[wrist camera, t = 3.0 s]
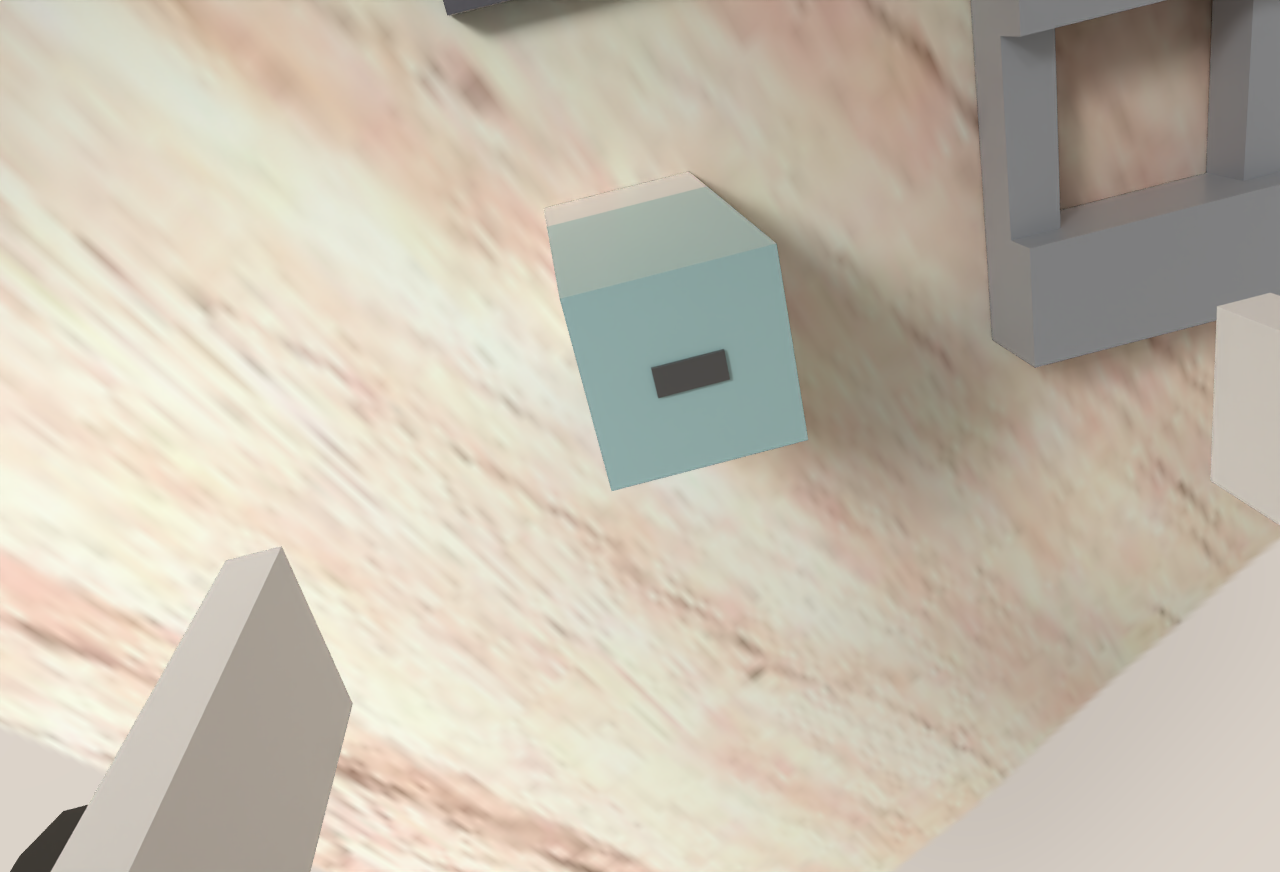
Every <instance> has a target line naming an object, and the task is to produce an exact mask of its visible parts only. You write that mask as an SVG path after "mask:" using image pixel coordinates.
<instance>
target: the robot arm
mask: <svg viewBox="0 0 1280 872" xmlns="http://www.w3.org/2000/svg"><path fill="white" fill-rule="evenodd" d="M1211 481H1212V482H1213V483H1215V484H1216V485H1218V486H1219V487H1221V488H1223V489H1224V490H1226V491H1227V492H1229V493H1230V494H1232V495H1233V496H1235V497H1236V498H1238V499H1240V500H1241V501H1243V502H1244V503H1246V504H1247V505H1249V506H1250V507H1252V508H1254V509H1255V510H1257V511H1258V512H1260V513H1261V514H1263V515H1264V516H1266V517H1268V518H1269V519H1271V520H1272V521H1274V522H1275V523H1277V524H1278V525H1280V296H1279V295H1276V294H1273V293H1267V294H1263V295H1259V296H1255V297H1251V298H1248V299H1244V300H1240V301H1236V302H1232V303H1228V304H1224V305H1220V306H1217V320H1216V347H1215V374H1214V401H1213V428H1212V455H1211ZM352 704H353V703H352V701H351V699H350V697H349V695H348V692H347V690H346V688H345V686H344V684H343V681H342V679H341V677H340V675H339V672H338V670H337V668H336V666H335V664H334V661H333V659H332V657H331V655H330V652H329V650H328V648H327V646H326V644H325V641H324V639H323V637H322V635H321V633H320V630H319V628H318V626H317V624H316V621H315V619H314V617H313V615H312V613H311V610H310V608H309V606H308V604H307V601H306V599H305V597H304V595H303V593H302V590H301V588H300V586H299V584H298V582H297V579H296V577H295V575H294V573H293V570H292V568H291V566H290V564H289V562H288V559H287V557H286V555H285V553H284V550H283V548H282V546H281V547H277V548H273V549H269V550H265V551H261V552H257V553H253V554H249V555H246V556H242V557H238V558H234V559H230V560H226V561H225V563H224V565H223V567H222V568H221V570H220V572H219V574H218V576H217V577H216V579H215V581H214V583H213V584H212V586H211V588H210V590H209V592H208V593H207V595H206V597H205V599H204V600H203V602H202V604H201V606H200V607H199V609H198V611H197V613H196V615H195V616H194V618H193V620H192V622H191V623H190V625H189V627H188V629H187V631H186V632H185V634H184V636H183V638H182V639H181V641H180V643H179V645H178V647H177V648H176V650H175V652H174V654H173V655H172V657H171V659H170V661H169V663H168V664H167V666H166V668H165V670H164V671H163V673H162V675H161V677H160V679H159V680H158V682H157V684H156V686H155V687H154V689H153V691H152V693H151V695H150V696H149V698H148V700H147V702H146V703H145V705H144V707H143V709H142V711H141V712H140V714H139V716H138V718H137V719H136V721H135V723H134V725H133V726H132V728H131V730H130V732H129V734H128V735H127V737H126V739H125V741H124V742H123V744H122V746H121V748H120V750H119V751H118V753H117V755H116V757H115V758H114V760H113V762H112V764H111V766H110V767H109V769H108V771H107V773H106V774H105V776H104V778H103V780H102V782H101V784H100V785H99V787H98V789H97V790H96V792H95V794H94V796H93V798H92V800H91V801H90V803H89V805H85V806H82V807H78V808H74V809H70V810H66V811H63V812H62V813H61V814H60V815H59V816H58V817H57V818H56V819H55V820H54V821H53V823H51V824H50V825H49V826H48V827H47V829H46V830H45V831H44V832H43V833H42V834H41V835H40V836H39V837H38V838H37V839H36V840H35V841H34V842H33V843H32V844H31V845H30V846H29V847H28V848H27V849H26V850H25V851H24V852H23V853H22V854H21V855H20V856H19V858H18V860H17V861H16V863H15V864H14V866H13V868H12V870H11V871H10V872H310V871H311V867H312V863H313V859H314V855H315V851H316V847H317V843H318V839H319V835H320V831H321V827H322V823H323V819H324V815H325V811H326V807H327V803H328V799H329V795H330V791H331V787H332V783H333V779H334V775H335V772H336V768H337V764H338V760H339V756H340V752H341V748H342V744H343V740H344V736H345V732H346V728H347V724H348V720H349V716H350V712H351V708H352Z"/></svg>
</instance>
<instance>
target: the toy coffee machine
mask: <svg viewBox="0 0 1280 872" xmlns="http://www.w3.org/2000/svg"><path fill="white" fill-rule="evenodd" d="M1161 1H1165V0H971V13H972V28H973V44H974V60H975V76H976V91H977V107H978V123H979V139H980V154H981V170H982V186H983V202H984V217H985V233H986V249H987V264H988V280H989V296H990V312H991V327H992V340H993V341H995V342H996V343H998V344H999V345H1001V346H1002V347H1004V348H1006V349H1007V350H1009V351H1010V352H1012V353H1013V354H1015V355H1016V356H1018V357H1019V358H1021V359H1022V360H1024V361H1025V362H1027V363H1029V364H1030V365H1032V366H1033V367H1035V368H1036V367H1039V366H1043V365H1047V364H1051V363H1055V362H1059V361H1063V360H1066V359H1070V358H1074V357H1078V356H1082V355H1086V354H1089V353H1093V352H1097V351H1101V350H1105V349H1109V348H1112V347H1116V346H1120V345H1124V344H1128V343H1132V342H1136V341H1139V340H1143V339H1147V338H1151V337H1155V336H1159V335H1162V334H1166V333H1170V332H1174V331H1178V330H1182V329H1186V328H1189V327H1193V326H1197V325H1201V324H1205V323H1209V322H1212V321H1216V320H1217V306H1220V305H1224V304H1228V303H1232V302H1236V301H1240V300H1244V299H1248V298H1251V297H1255V296H1259V295H1263V294H1267V293H1273V294H1276V295H1279V296H1280V0H1213V4H1212V30H1211V57H1210V83H1209V109H1208V136H1207V162H1206V173H1204V174H1200V175H1196V176H1192V177H1188V178H1185V179H1181V180H1177V181H1173V182H1169V183H1165V184H1161V185H1157V186H1153V187H1149V188H1145V189H1142V190H1138V191H1134V192H1130V193H1126V194H1122V195H1118V196H1114V197H1110V198H1106V199H1103V200H1099V201H1095V202H1091V203H1087V204H1083V205H1079V206H1075V207H1071V208H1067V209H1063V210H1060V190H1059V155H1058V120H1057V85H1056V50H1055V28H1057V27H1061V26H1065V25H1069V24H1073V23H1077V22H1081V21H1085V20H1089V19H1093V18H1097V17H1101V16H1105V15H1109V14H1113V13H1117V12H1121V11H1125V10H1129V9H1133V8H1137V7H1141V6H1145V5H1149V4H1153V3H1157V2H1161Z"/></svg>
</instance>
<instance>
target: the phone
mask: <svg viewBox="0 0 1280 872" xmlns="http://www.w3.org/2000/svg"><path fill="white" fill-rule="evenodd" d="M508 1H512V0H443V2H444V5H445V9H446V12H447V15H448V16H451V15H455V14H459V13H463V12H467V11H471V10H475V9H479V8H483V7H487V6H491V5H495V4H499V3H504V2H508Z"/></svg>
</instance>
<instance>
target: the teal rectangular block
mask: <svg viewBox="0 0 1280 872" xmlns="http://www.w3.org/2000/svg"><path fill="white" fill-rule="evenodd" d="M544 213H545V219H546V224H547V230H548V236H549V241H550V247H551V252H552V258H553V263H554V269H555V275H556V280H557V286H558V291H559V297H560V301H561V305H562V309H563V312H564V316H565V320H566V323H567V327H568V331H569V335H570V338H571V342H572V346H573V349H574V353H575V357H576V361H577V364H578V368H579V372H580V375H581V379H582V383H583V387H584V390H585V394H586V398H587V401H588V405H589V409H590V412H591V416H592V420H593V424H594V427H595V431H596V435H597V438H598V442H599V446H600V450H601V453H602V457H603V461H604V464H605V468H606V472H607V476H608V479H609V483H610V487H611V490H612V491H614V490H618V489H622V488H626V487H629V486H633V485H637V484H641V483H645V482H649V481H652V480H656V479H660V478H664V477H668V476H672V475H675V474H679V473H683V472H687V471H691V470H695V469H699V468H702V467H706V466H710V465H714V464H718V463H722V462H725V461H729V460H733V459H737V458H741V457H745V456H748V455H752V454H756V453H760V452H764V451H768V450H771V449H775V448H779V447H783V446H787V445H791V444H795V443H798V442H802V441H806V440H808V436H807V429H806V423H805V417H804V411H803V405H802V398H801V392H800V386H799V380H798V374H797V367H796V361H795V355H794V349H793V343H792V336H791V330H790V324H789V318H788V312H787V305H786V299H785V293H784V287H783V281H782V274H781V268H780V262H779V256H778V250H777V244H776V243H775V242H774V241H773V240H772V239H770V238H769V237H768V236H767V235H766V234H764V233H763V232H762V231H761V230H759V229H758V228H757V227H756V226H755V225H753V224H752V223H751V222H750V221H749V220H747V219H746V218H745V217H744V216H742V215H741V214H740V213H739V212H738V211H736V210H735V209H734V208H733V207H732V206H730V205H729V204H728V203H727V202H725V201H724V200H723V199H722V198H721V197H719V196H718V195H717V194H716V193H715V192H713V191H712V190H711V189H710V188H708V187H707V186H706V185H705V184H704V183H702V182H701V181H700V180H699V179H698V178H696V177H695V176H694V175H693V174H691V173H690V172H685V173H681V174H677V175H673V176H669V177H665V178H661V179H657V180H653V181H649V182H645V183H641V184H637V185H633V186H629V187H625V188H621V189H617V190H613V191H609V192H606V193H602V194H598V195H594V196H590V197H586V198H582V199H578V200H574V201H570V202H566V203H562V204H558V205H554V206H550V207H546V208H544Z"/></svg>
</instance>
